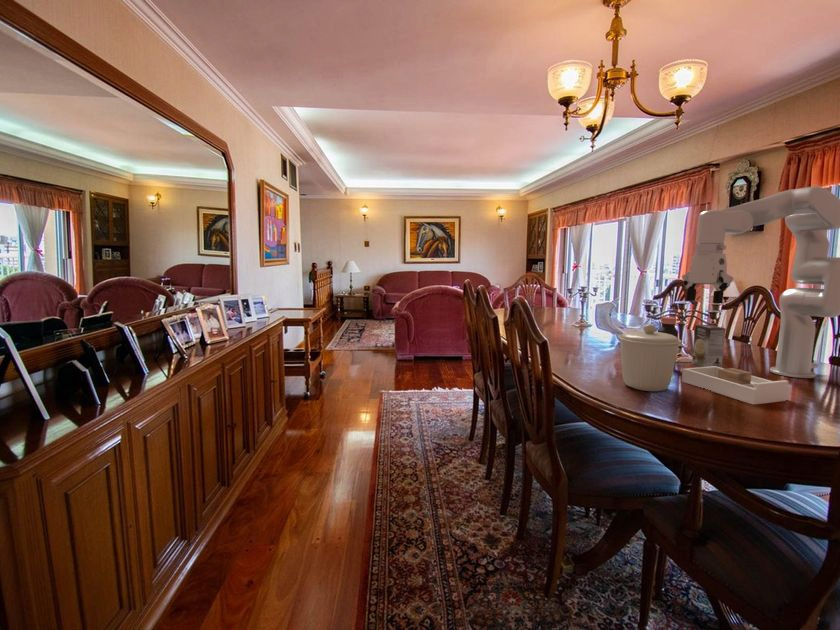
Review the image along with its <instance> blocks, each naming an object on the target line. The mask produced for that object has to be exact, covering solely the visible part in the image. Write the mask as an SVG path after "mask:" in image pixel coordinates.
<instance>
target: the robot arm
mask: <svg viewBox="0 0 840 630" xmlns="http://www.w3.org/2000/svg"><path fill="white" fill-rule="evenodd" d="M783 218H784V223H785V225H786V227H787V228H788V231H790V232H791V235H792V236H793V237H794V240H795V241H796V249H795V252H794V253H795V254H794V258H793V261H792V265H791V266H792V267H791V273H790V278H791V280H792V282H794V283H796V284H801V285H815V286H816V285H817V286H824V287H823V288H812V287H791V288H788V289H785V290H784V291H783V292H782V293H781V294H780V296H779V300H778V302H779V310H780V322H779V323H780V325H779V332H778V333H779V334H778V341H777V343H778V344H777V350H776V351H777V352H776V359H775V366H771V367H769V371H770V373H773V374H776V375H780V376H784V377H788V378H789V377H790V378H797V379H813V378H816V376H817V373H815V372H814V371H812V369H817V368H818V367H819V363H816V362H812V360H813V354H814V353H813V352H814V345H815V335H816V324H815V322H814V320H813V319H812V317H818V318H819V317H821V318H836V317H839V316H840V257H838V256H837V257H836V256H835V257H834V256H833V257H831V256H830V257H828V256H829V252H830V251H829V250H830V241H829V238H828V237H827V236H826V235H825V233H824V232H823V231H829V230H830V231H831V230H838V229H840V199H839V197H837V196H836V195H835V194H834V193H833V192H831V191H830V190H828V189H827V188H825V187H822V186H818V185H815V186H806V187H800V188H794V189H787V190H783V191H781V192H777V193H775V194H772V195H769V196H766V197H763V198H760V199H756V200H753V201H752V200H751V201H748V202H745V203H742V204H739V205H738V204H737V205H735V206H730V207H726V208H723V209H720V210H719V209H716V210H715V209H713V210H711V209H710V210H704V211H702V212H700V213H699V215H698V219H697V230H696V231H697V232H696V239H695V249H694V253H693V255H692V259H691V261H690V267H689V271H688V272H686V273H685V274H683V275H682V276H681V278H682V281H683V285H684V286H685V289H687V290H686V299H685V300H686V302H687V301H690V302H691V301H694V302H695V301H696V297H697V289H696V287H697V286H698V285H712V286H713V287H714V289H715V290H713V296H712V297H713V299H712V304H723V301H724V293H725V291H727V289H728V288H729V287H730V286H731V284H732V282H733V280H734V277H733V276H732V275H730V274H728V271H727V270H728V269H727V268H728V266H727V265H728V264H727V255H726V253H724V251H725V250H726V249H727V246H726V245H725V237H726V236H728V235H731V236H732V235H741V234H743V233H746V232H748V231H749V230H750V229H751V228H752V227H755V226H757V227H758V226H760V225H761V226H762V225H766V224H770V223H773V222H775V221H778V220H781V219H783Z"/></svg>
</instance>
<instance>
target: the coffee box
mask: <svg viewBox="0 0 840 630" xmlns="http://www.w3.org/2000/svg"><path fill="white" fill-rule="evenodd" d="M693 337H694V338H693V346H692V347H693V348H692V356H691V357H692V358H691V359H692V360H691V364H692V365H695V366H698V367H710V366H716V367H720V368H723V358H724V347H725V339H726V328H725V327H721V326H717V325H713V324H695V326H694V336H693Z"/></svg>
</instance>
